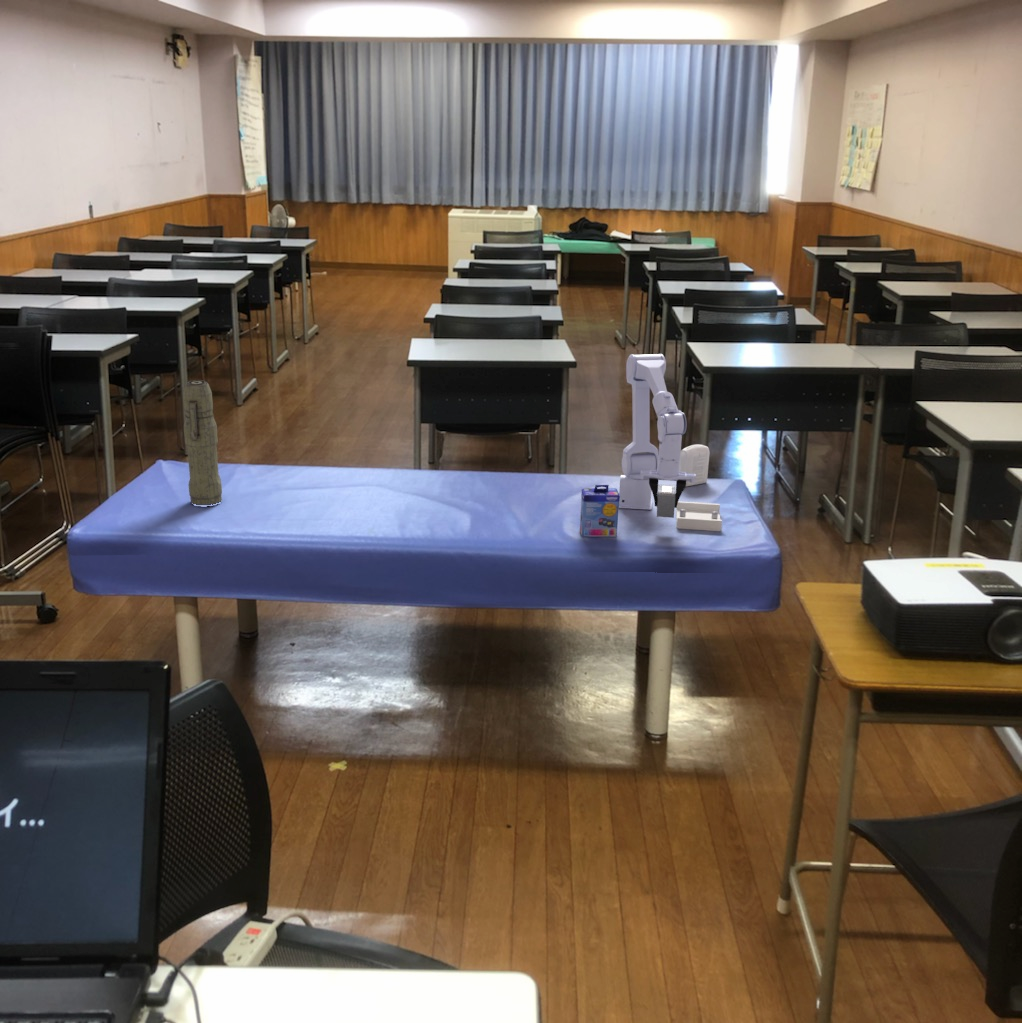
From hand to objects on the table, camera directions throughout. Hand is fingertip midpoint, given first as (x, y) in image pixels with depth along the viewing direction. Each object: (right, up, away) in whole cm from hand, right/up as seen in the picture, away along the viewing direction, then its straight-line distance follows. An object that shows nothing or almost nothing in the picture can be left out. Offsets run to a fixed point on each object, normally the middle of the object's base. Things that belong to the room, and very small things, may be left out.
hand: (665, 505), depth 289 cm
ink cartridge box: (-18, -8, +1) cm, 20 cm away
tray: (+11, -4, +12) cm, 16 cm away
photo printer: (+14, +7, +43) cm, 45 cm away
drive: (0, -2, 0) cm, 2 cm away
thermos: (-128, +1, +18) cm, 130 cm away
